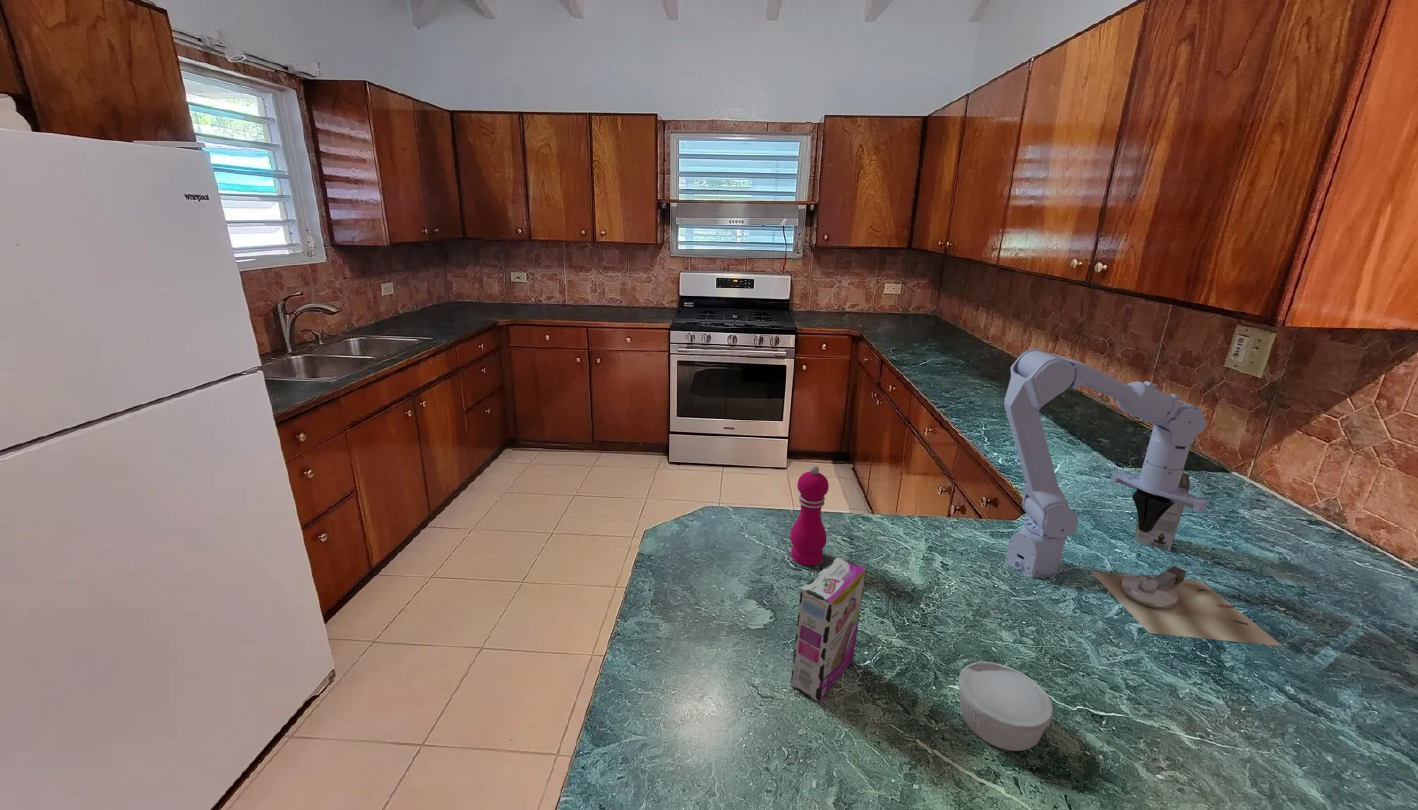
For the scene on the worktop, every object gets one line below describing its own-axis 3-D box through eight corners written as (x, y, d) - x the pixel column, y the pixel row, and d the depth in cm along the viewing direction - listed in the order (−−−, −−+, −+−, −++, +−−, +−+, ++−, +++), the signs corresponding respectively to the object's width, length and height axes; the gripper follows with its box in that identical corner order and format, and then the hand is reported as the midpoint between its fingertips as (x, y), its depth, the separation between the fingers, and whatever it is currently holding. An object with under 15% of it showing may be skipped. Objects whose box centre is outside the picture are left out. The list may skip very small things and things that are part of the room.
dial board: (1147, 639, 92) (1149, 632, 91) (1089, 576, 109) (1090, 570, 108) (1280, 652, 89) (1283, 645, 89) (1199, 586, 107) (1201, 580, 106)
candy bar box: (820, 705, 76) (831, 603, 72) (789, 687, 79) (797, 588, 75) (855, 661, 85) (867, 567, 80) (826, 646, 88) (836, 554, 83)
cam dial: (1161, 614, 95) (1167, 596, 94) (1111, 589, 102) (1116, 571, 101) (1202, 591, 102) (1208, 574, 101) (1152, 569, 109) (1157, 553, 108)
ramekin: (1015, 690, 80) (1022, 660, 79) (1065, 760, 69) (1074, 726, 68) (939, 690, 80) (944, 660, 78) (977, 760, 69) (985, 727, 68)
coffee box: (1133, 530, 127) (1151, 465, 123) (1169, 539, 124) (1188, 473, 119) (1132, 546, 120) (1151, 478, 116) (1170, 557, 117) (1191, 487, 112)
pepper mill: (824, 569, 108) (834, 475, 103) (787, 564, 110) (794, 470, 104) (824, 550, 115) (833, 460, 109) (789, 545, 116) (796, 457, 111)
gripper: (1222, 474, 98) (1201, 543, 102) (1131, 447, 110) (1115, 509, 114) (1204, 481, 95) (1182, 552, 98) (1111, 453, 107) (1095, 516, 111)
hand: (1144, 530), depth 106 cm, fingers closed
